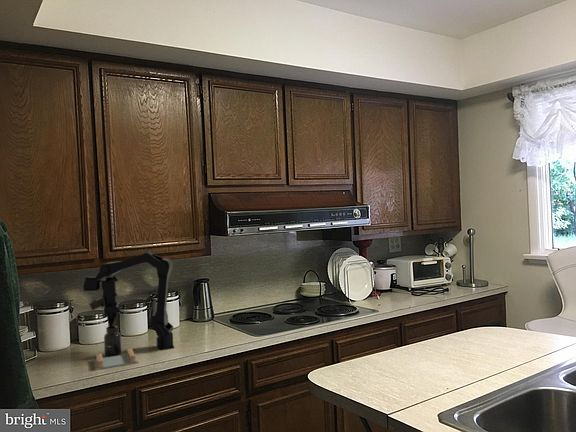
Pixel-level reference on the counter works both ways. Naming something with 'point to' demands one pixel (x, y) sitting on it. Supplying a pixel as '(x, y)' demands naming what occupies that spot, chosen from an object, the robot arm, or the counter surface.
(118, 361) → the rubber mat
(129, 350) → the cradle rails
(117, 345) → the supplement bottle
